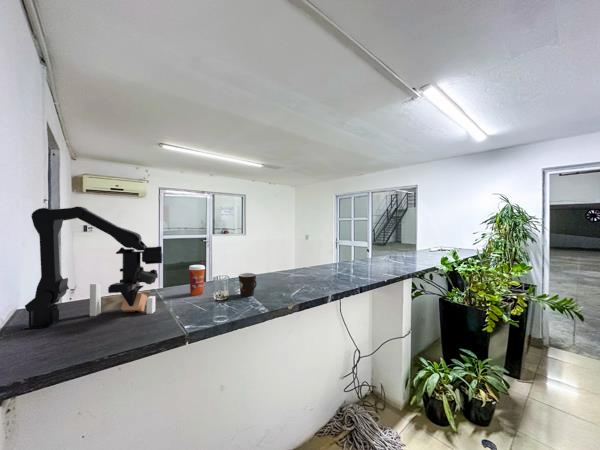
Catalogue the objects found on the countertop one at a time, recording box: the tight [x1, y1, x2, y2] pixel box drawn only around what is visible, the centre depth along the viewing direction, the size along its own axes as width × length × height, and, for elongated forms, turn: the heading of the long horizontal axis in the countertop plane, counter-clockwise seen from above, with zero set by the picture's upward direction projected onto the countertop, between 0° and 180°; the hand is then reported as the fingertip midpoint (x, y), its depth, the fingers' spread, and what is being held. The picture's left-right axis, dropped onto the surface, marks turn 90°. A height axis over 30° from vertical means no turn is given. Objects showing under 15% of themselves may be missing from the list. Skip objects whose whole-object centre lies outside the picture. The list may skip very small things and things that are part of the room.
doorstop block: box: [120, 293, 147, 313], centre depth 96 cm, size 6×5×6 cm
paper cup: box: [188, 264, 206, 296], centre depth 122 cm, size 8×8×14 cm
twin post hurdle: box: [89, 281, 156, 317], centre depth 94 cm, size 22×3×12 cm, turn 100°
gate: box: [101, 290, 151, 312], centre depth 99 cm, size 16×1×5 cm, turn 131°
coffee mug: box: [238, 272, 257, 298], centre depth 120 cm, size 12×9×10 cm
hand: (131, 306), depth 93 cm, fingers closed, pressing on doorstop block
